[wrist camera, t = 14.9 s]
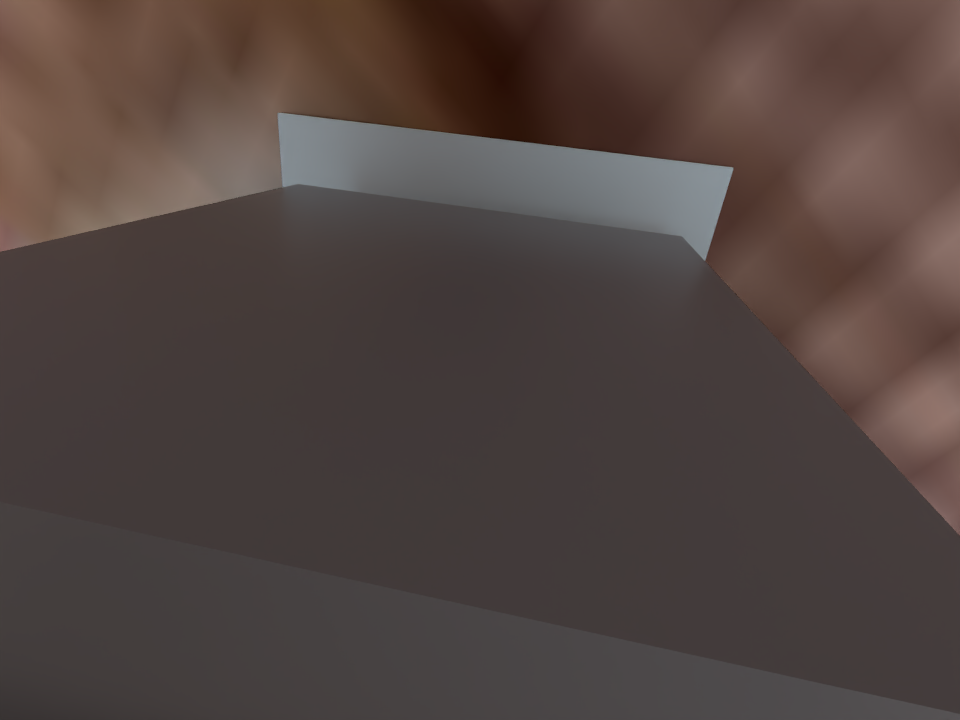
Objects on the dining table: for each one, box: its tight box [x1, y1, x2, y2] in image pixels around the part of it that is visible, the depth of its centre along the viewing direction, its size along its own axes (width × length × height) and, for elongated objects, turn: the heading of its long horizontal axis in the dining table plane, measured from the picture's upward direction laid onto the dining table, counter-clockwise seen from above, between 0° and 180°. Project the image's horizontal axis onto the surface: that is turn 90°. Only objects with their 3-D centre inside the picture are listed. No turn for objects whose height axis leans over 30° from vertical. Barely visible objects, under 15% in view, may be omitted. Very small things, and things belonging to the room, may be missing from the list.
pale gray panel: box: [278, 113, 734, 261], centre depth 14 cm, size 12×10×1 cm
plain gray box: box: [0, 184, 960, 720], centre depth 8 cm, size 10×8×9 cm
